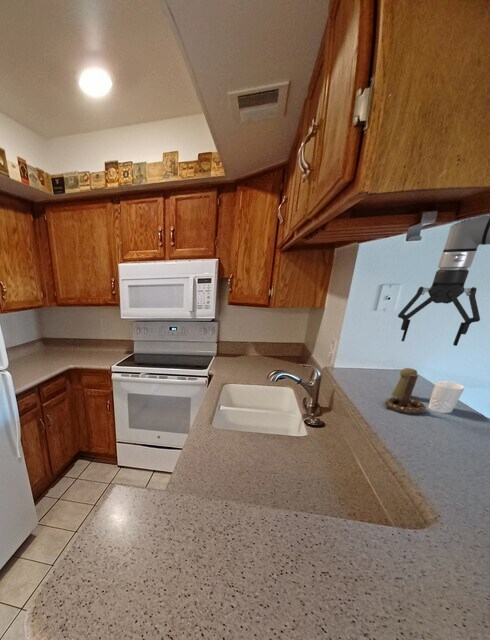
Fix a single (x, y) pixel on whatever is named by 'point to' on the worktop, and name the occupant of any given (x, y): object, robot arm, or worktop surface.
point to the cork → (403, 381)
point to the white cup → (445, 396)
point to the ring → (397, 408)
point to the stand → (407, 393)
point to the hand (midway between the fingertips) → (428, 342)
